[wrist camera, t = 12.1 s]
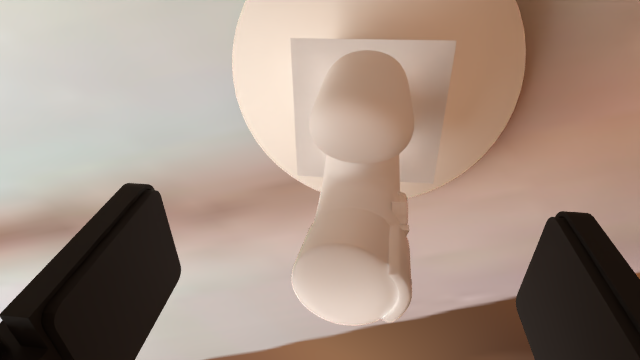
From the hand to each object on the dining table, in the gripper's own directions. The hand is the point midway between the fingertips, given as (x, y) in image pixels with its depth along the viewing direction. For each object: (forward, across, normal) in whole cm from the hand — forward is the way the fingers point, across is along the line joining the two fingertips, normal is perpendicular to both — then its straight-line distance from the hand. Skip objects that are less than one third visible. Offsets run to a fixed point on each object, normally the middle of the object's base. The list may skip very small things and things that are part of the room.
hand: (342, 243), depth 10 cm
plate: (+16, -1, +1) cm, 16 cm away
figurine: (+14, 0, +1) cm, 14 cm away
